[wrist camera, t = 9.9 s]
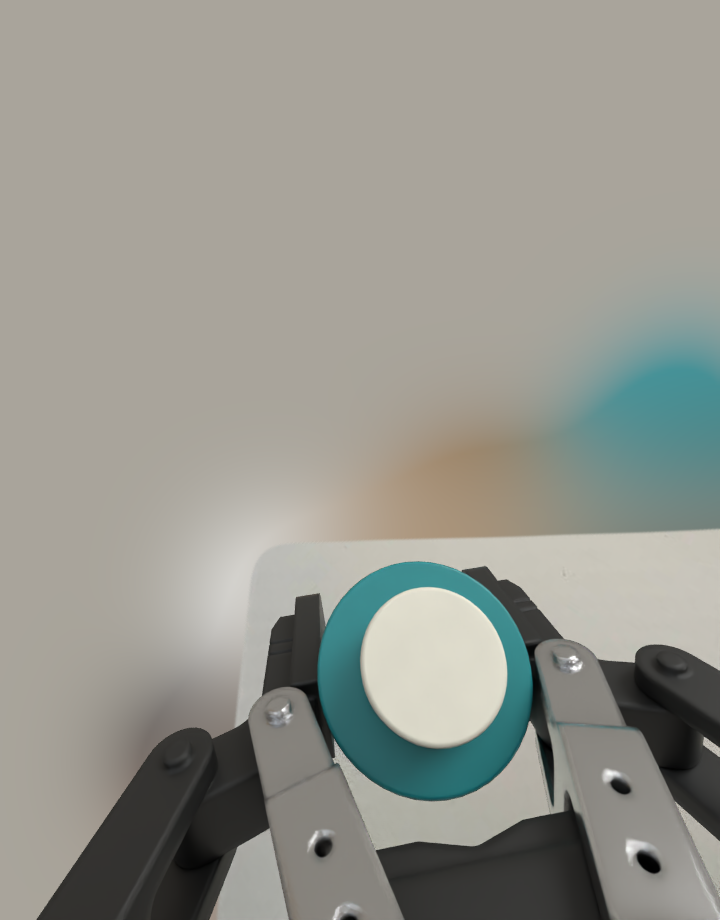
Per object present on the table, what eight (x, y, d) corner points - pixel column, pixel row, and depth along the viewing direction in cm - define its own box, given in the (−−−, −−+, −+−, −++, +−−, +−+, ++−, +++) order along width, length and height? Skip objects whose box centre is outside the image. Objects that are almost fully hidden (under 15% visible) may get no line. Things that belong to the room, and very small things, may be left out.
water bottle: (375, 780, 15) (391, 893, 6) (319, 658, 17) (268, 610, 8) (479, 708, 16) (618, 717, 7) (414, 601, 18) (462, 504, 9)
